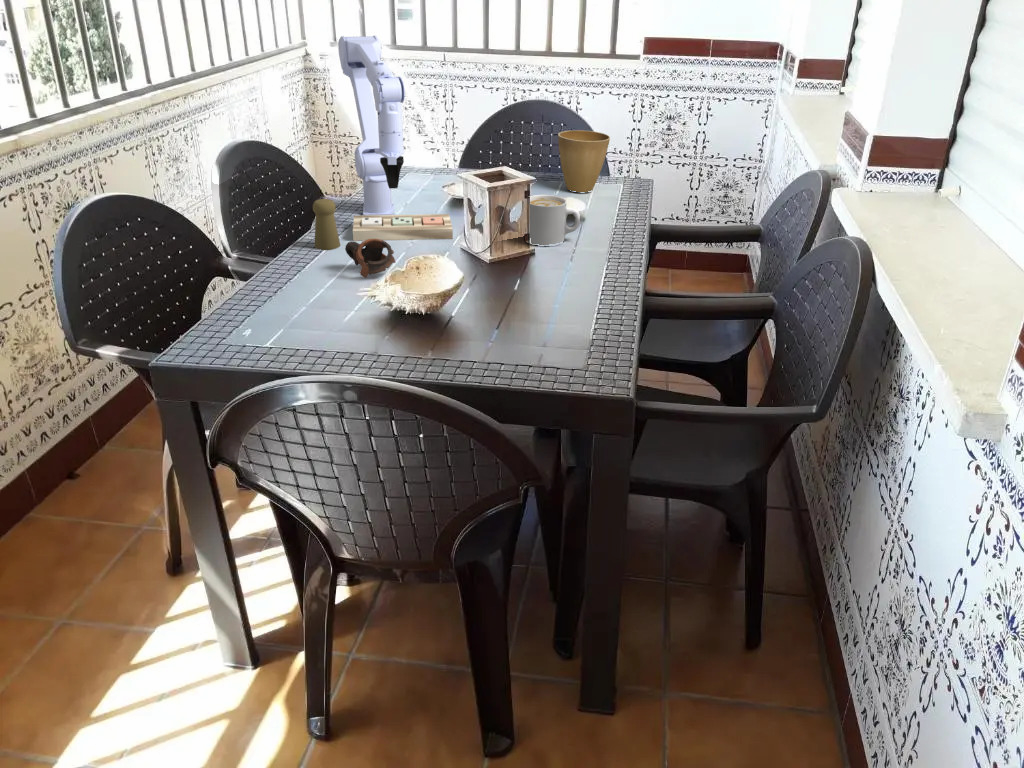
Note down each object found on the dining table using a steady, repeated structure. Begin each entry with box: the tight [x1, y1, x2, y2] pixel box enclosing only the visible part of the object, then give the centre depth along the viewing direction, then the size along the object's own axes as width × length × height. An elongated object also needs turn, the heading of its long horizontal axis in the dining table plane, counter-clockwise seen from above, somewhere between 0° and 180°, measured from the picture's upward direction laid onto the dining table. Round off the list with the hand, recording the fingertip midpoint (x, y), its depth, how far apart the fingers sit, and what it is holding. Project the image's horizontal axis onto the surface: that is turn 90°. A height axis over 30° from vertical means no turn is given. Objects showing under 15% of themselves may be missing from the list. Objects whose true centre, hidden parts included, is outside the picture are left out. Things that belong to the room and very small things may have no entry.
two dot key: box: [362, 218, 382, 226], centre depth 203 cm, size 5×5×3 cm
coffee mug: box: [529, 194, 581, 245], centre depth 200 cm, size 13×10×10 cm
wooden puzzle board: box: [352, 213, 454, 242], centre depth 204 cm, size 12×24×2 cm, turn 98°
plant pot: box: [557, 129, 611, 192], centre depth 239 cm, size 15×15×16 cm
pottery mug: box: [344, 239, 396, 279], centre depth 180 cm, size 12×10×8 cm
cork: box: [312, 198, 341, 251], centre depth 192 cm, size 6×6×11 cm
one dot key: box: [423, 217, 443, 225], centre depth 205 cm, size 5×5×3 cm
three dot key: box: [393, 217, 413, 226], centre depth 204 cm, size 5×5×3 cm
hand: (393, 187), depth 202 cm, fingers closed
